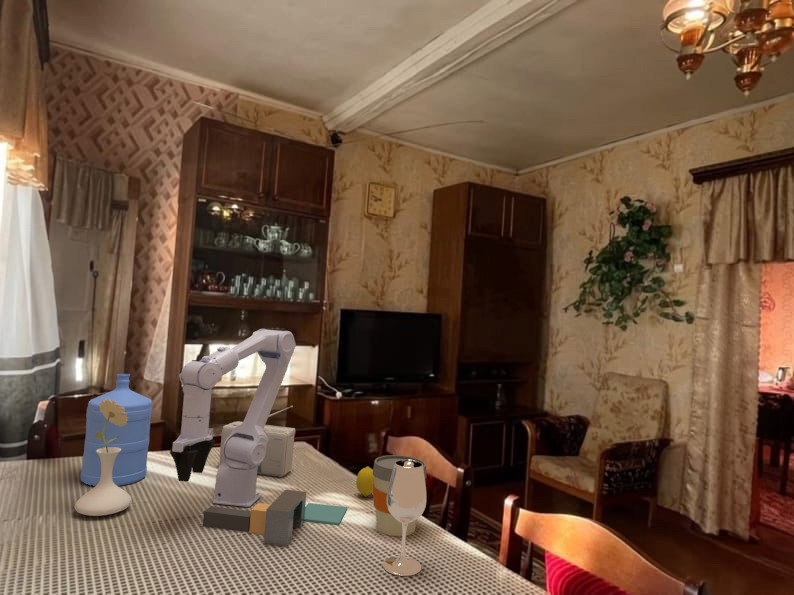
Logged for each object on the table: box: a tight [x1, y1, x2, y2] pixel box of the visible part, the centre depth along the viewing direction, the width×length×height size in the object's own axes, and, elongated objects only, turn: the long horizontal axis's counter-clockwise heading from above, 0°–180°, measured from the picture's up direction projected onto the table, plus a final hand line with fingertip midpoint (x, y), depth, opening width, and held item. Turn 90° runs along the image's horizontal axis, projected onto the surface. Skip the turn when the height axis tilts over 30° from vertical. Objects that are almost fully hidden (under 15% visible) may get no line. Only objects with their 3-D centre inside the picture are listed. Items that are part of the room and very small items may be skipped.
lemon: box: [355, 466, 374, 498], centre depth 136 cm, size 6×6×8 cm
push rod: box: [202, 505, 251, 533], centre depth 112 cm, size 10×3×4 cm, turn 83°
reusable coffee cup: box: [372, 454, 427, 537], centre depth 117 cm, size 13×12×15 cm
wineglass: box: [382, 460, 427, 577], centre depth 99 cm, size 8×8×20 cm
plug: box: [248, 502, 272, 536], centre depth 111 cm, size 5×4×5 cm
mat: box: [304, 502, 348, 526], centre depth 122 cm, size 10×10×1 cm
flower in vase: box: [73, 399, 133, 517], centre depth 116 cm, size 13×11×25 cm
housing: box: [263, 489, 307, 547], centre depth 111 cm, size 5×12×7 cm, turn 174°
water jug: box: [80, 373, 153, 487], centre depth 137 cm, size 16×16×28 cm
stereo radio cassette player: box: [219, 405, 296, 478], centre depth 152 cm, size 21×8×20 cm, turn 77°
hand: (190, 476), depth 113 cm, fingers open, 6 cm apart
